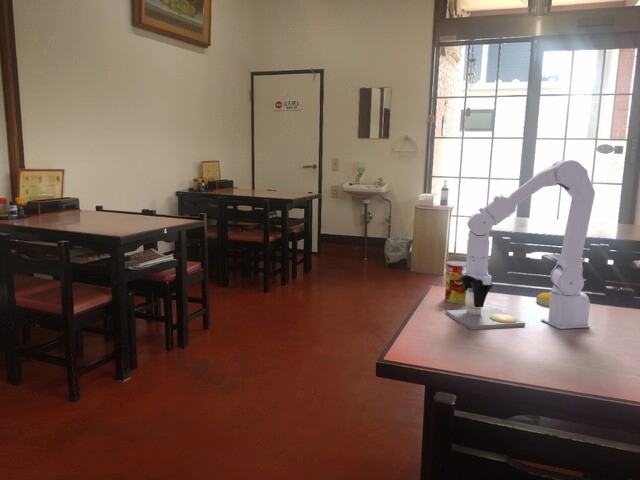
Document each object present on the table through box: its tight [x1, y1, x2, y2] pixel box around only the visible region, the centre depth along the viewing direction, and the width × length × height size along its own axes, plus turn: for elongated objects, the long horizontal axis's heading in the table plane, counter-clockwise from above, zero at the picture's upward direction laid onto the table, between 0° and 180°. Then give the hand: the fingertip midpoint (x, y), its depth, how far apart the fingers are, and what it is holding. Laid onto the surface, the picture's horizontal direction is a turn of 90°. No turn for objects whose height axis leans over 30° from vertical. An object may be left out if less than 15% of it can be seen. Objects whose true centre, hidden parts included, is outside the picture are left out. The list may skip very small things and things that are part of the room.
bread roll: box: [536, 291, 551, 307], centre depth 155 cm, size 8×9×4 cm
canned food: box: [444, 260, 466, 305], centre depth 156 cm, size 8×8×12 cm
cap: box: [464, 288, 485, 309], centre depth 139 cm, size 5×5×5 cm
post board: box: [445, 306, 526, 330], centre depth 137 cm, size 16×14×3 cm
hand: (474, 304), depth 139 cm, fingers closed on cap, 5 cm apart
